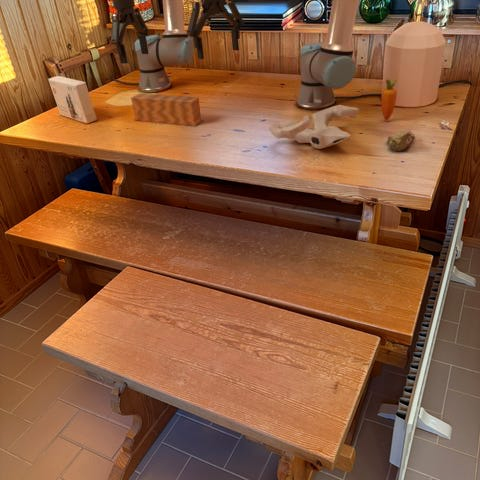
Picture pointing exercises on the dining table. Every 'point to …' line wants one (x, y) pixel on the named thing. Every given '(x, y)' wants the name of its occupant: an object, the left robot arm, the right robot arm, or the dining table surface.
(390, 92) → the carrot
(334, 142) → the cream branched piece
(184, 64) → the left robot arm
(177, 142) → the dining table surface
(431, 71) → the container
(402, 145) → the rock
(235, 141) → the dining table surface
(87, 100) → the skincare box
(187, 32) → the right robot arm
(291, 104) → the dining table surface
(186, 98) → the bar
